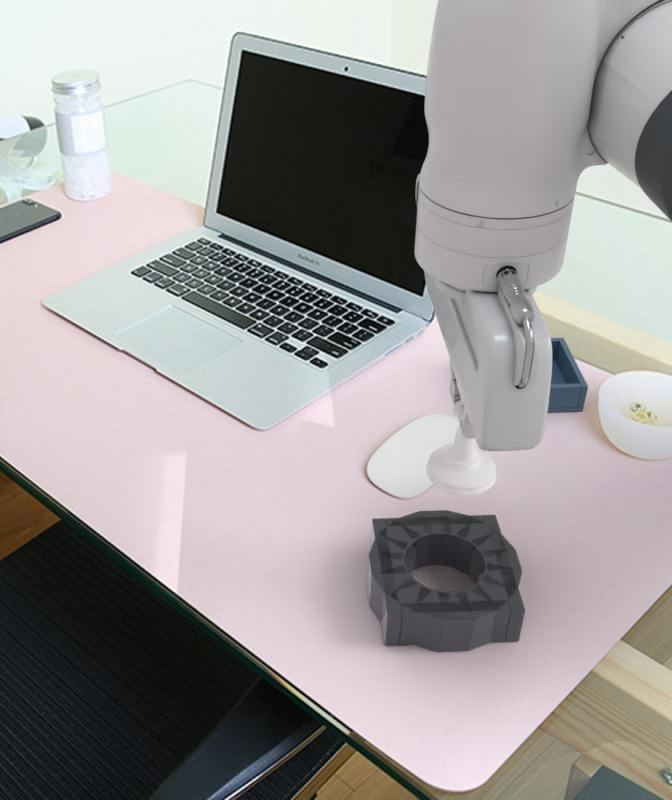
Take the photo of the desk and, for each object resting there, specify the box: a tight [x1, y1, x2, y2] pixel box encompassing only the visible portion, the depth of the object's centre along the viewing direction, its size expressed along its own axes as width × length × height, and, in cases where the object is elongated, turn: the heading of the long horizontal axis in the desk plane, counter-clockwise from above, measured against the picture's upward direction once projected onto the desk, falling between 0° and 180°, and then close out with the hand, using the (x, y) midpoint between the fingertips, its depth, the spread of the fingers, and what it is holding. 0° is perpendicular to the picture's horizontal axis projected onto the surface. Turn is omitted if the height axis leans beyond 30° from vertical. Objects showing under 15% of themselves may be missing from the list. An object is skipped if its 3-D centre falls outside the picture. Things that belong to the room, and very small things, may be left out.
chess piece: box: [425, 383, 498, 496], centre depth 65 cm, size 5×5×10 cm
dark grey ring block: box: [366, 509, 526, 653], centre depth 74 cm, size 11×11×4 cm
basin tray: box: [547, 337, 589, 413], centre depth 96 cm, size 9×9×3 cm
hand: (468, 415), depth 65 cm, fingers closed on chess piece
